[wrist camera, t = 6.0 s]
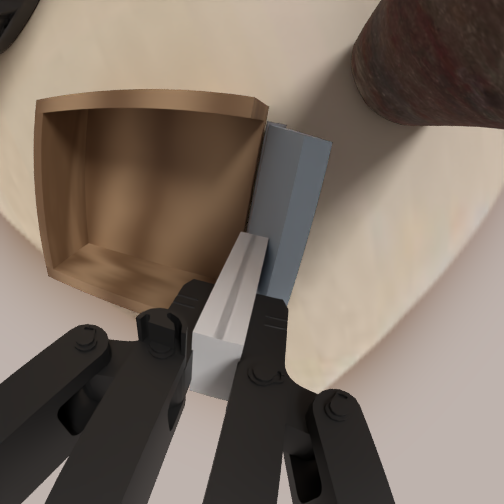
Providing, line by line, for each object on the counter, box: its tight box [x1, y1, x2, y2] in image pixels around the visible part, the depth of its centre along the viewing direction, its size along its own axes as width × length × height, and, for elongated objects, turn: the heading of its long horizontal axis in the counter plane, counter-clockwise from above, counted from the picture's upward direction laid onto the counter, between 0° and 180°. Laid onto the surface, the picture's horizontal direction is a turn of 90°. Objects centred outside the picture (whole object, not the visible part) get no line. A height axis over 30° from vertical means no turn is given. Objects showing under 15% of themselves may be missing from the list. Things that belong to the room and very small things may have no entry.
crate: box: [34, 89, 269, 313], centre depth 17 cm, size 15×14×6 cm
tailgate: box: [246, 121, 333, 306], centre depth 15 cm, size 1×12×9 cm, turn 170°
